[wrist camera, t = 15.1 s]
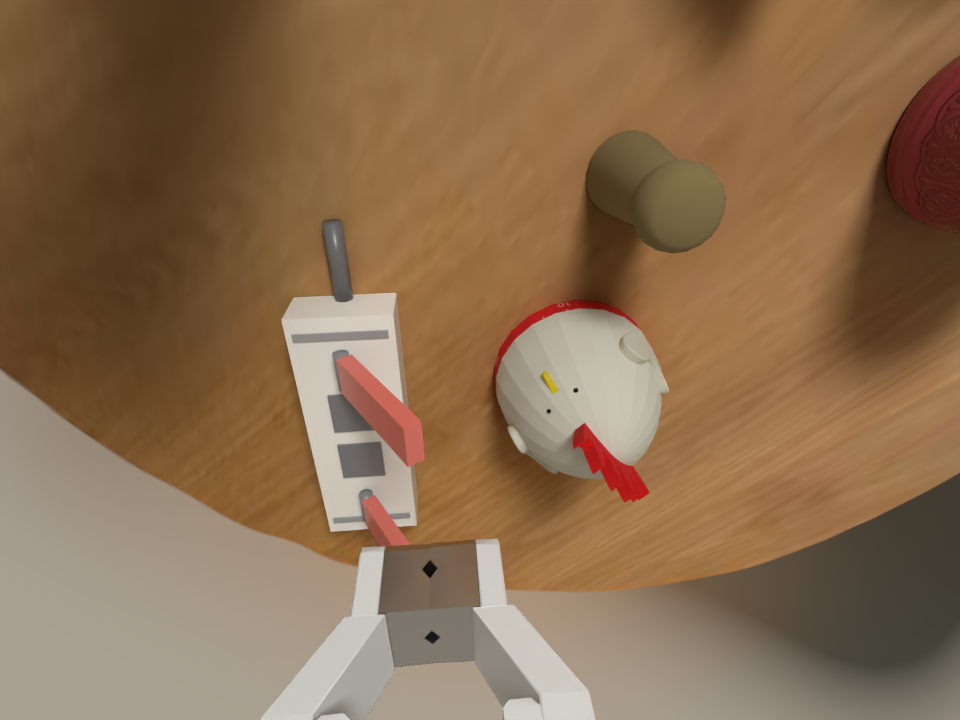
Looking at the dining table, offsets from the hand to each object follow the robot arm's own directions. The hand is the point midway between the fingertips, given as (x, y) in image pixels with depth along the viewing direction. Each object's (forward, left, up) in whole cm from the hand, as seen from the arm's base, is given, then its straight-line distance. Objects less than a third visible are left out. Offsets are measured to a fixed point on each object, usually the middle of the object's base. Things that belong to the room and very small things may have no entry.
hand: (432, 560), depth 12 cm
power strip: (+7, -15, -31) cm, 35 cm away
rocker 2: (+14, -22, -26) cm, 37 cm away
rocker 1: (+4, -13, -26) cm, 29 cm away
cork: (+8, +12, -31) cm, 35 cm away
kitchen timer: (+19, -1, -32) cm, 37 cm away
